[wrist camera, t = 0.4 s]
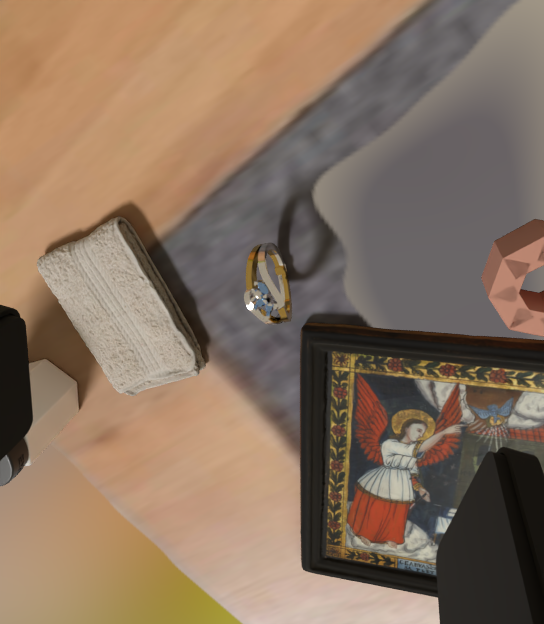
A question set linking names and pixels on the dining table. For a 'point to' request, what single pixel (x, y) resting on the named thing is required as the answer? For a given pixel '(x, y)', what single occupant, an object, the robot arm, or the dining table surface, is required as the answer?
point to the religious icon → (403, 441)
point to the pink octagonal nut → (517, 278)
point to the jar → (42, 416)
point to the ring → (268, 286)
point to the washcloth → (122, 308)
